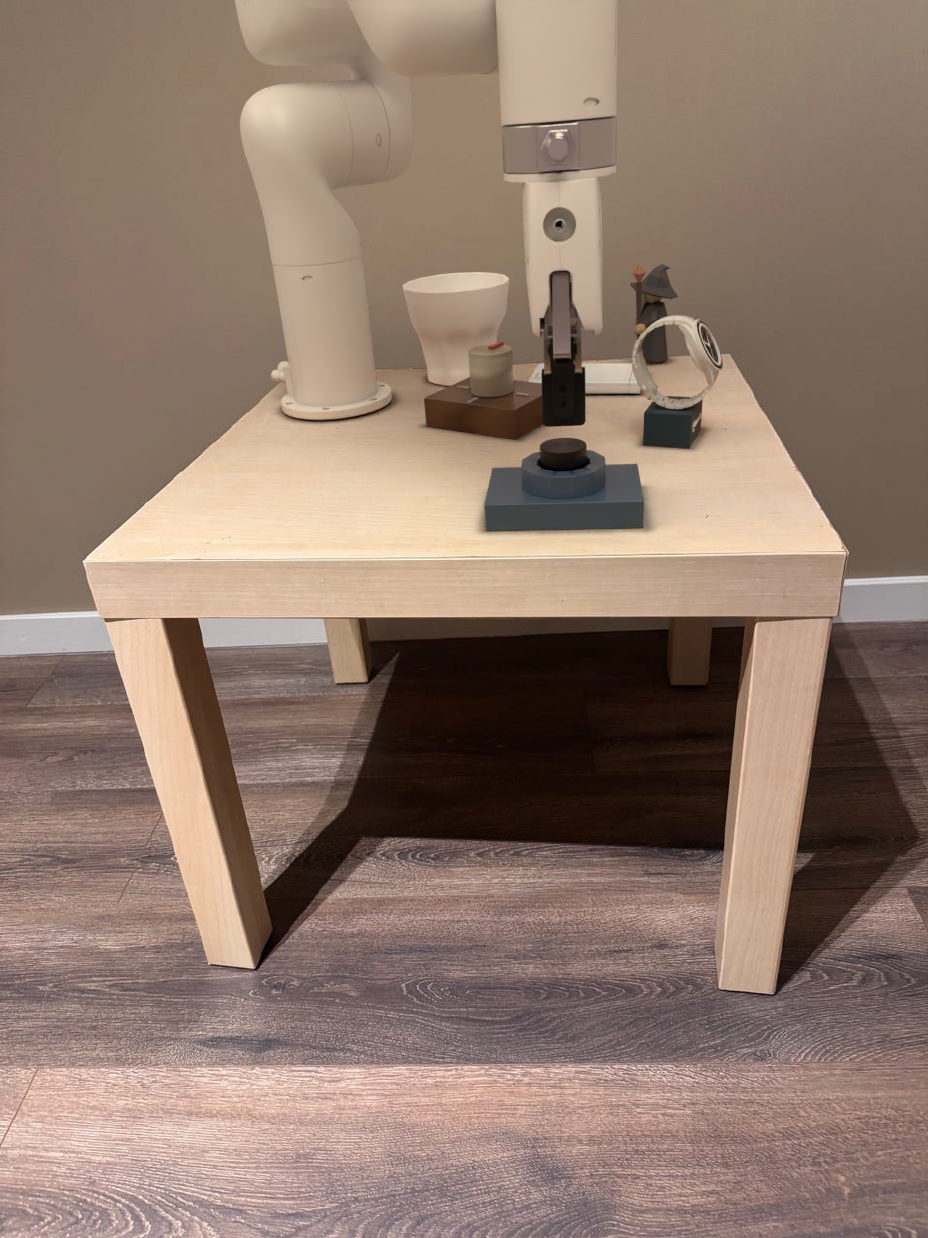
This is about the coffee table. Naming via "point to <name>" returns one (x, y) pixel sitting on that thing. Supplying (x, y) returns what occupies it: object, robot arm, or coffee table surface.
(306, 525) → the coffee table surface
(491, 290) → the cup
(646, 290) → the wizard figurine
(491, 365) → the knob
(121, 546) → the coffee table surface
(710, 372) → the watch
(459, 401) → the brown wooden block
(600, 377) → the hard drive
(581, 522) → the button box
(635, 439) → the coffee table surface
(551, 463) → the button
